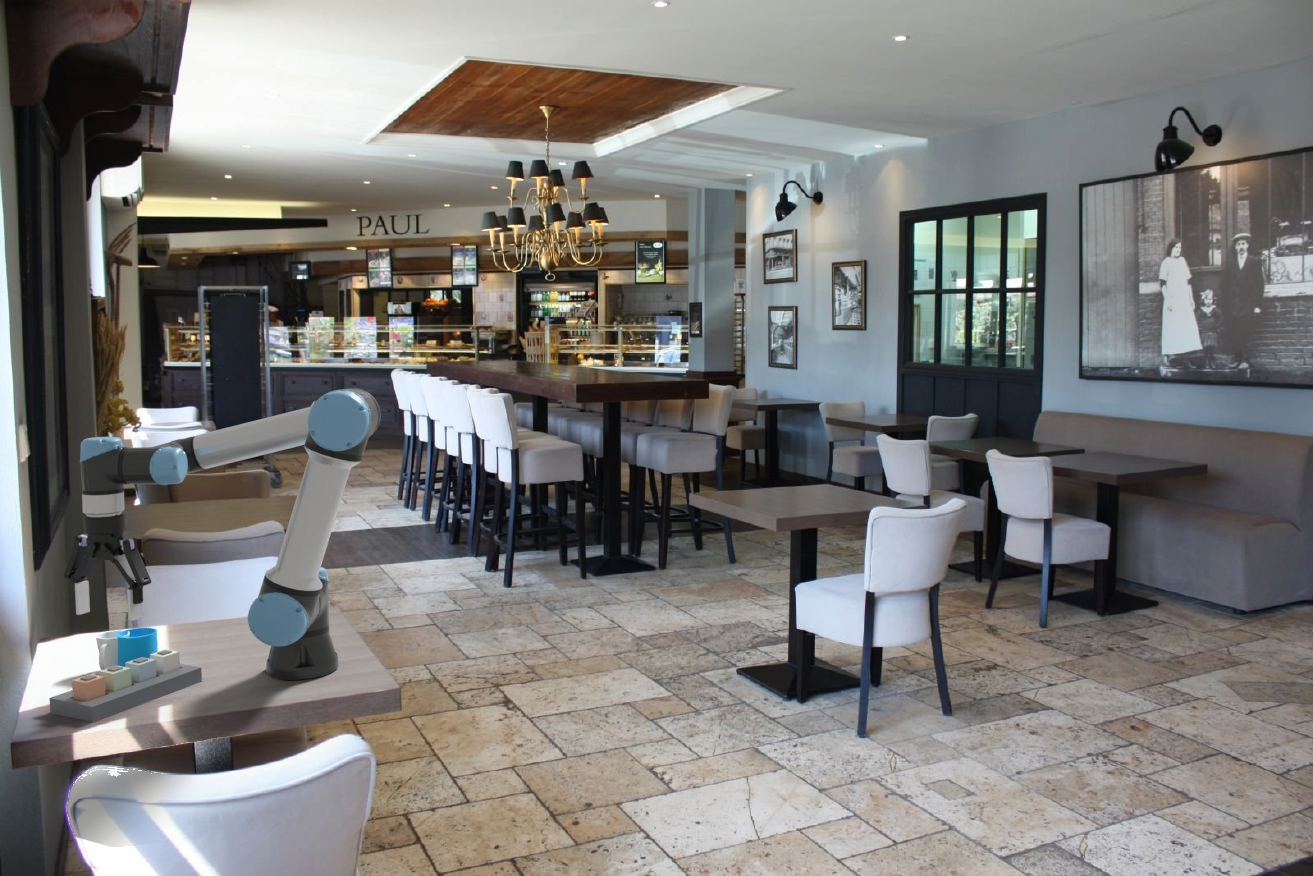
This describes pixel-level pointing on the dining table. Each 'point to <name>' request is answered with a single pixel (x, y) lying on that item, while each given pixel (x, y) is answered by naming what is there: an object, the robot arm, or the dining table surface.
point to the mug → (136, 644)
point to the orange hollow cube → (88, 687)
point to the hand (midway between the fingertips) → (108, 616)
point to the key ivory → (166, 661)
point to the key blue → (142, 669)
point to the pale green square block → (116, 678)
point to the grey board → (125, 695)
